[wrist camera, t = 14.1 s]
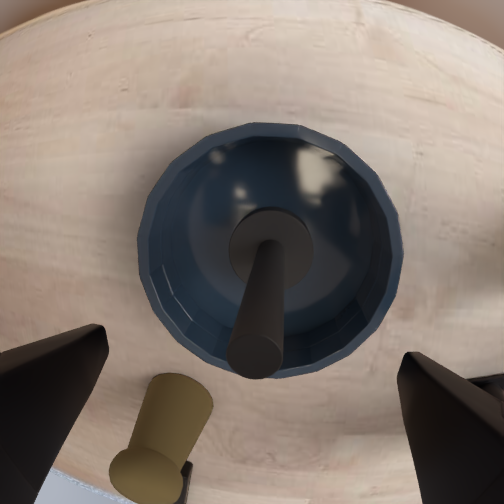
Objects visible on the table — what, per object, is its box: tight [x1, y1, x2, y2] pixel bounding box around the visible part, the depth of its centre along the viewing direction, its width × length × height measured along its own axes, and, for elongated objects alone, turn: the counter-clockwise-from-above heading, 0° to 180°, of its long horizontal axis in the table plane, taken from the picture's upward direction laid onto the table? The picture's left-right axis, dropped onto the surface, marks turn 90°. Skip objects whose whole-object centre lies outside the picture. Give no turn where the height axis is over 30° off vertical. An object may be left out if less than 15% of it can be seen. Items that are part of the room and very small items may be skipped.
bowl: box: [137, 122, 404, 379], centre depth 18 cm, size 14×14×4 cm
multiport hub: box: [173, 461, 193, 504], centre depth 29 cm, size 4×14×2 cm, turn 168°
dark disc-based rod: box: [226, 207, 314, 379], centre depth 14 cm, size 5×5×12 cm
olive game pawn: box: [109, 373, 213, 504], centre depth 20 cm, size 6×6×11 cm
